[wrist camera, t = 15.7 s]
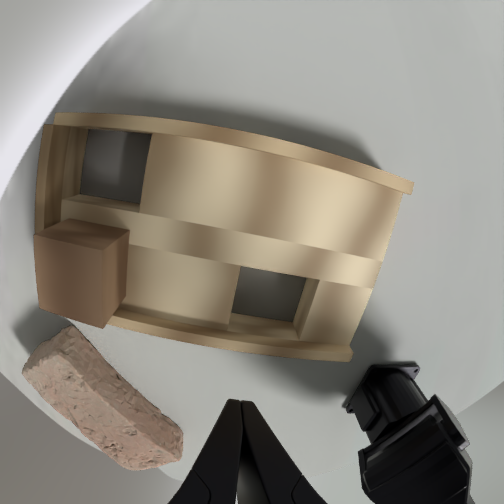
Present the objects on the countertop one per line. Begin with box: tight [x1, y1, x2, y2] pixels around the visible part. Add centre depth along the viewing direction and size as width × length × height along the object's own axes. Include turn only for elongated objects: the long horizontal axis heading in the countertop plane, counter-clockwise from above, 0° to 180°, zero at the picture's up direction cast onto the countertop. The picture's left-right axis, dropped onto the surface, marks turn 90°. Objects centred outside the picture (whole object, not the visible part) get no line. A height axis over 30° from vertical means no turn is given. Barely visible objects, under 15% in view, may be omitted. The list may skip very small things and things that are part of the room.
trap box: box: [35, 112, 414, 362], centre depth 17 cm, size 22×13×4 cm, turn 78°
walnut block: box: [34, 218, 130, 329], centre depth 15 cm, size 4×4×4 cm
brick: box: [22, 325, 183, 470], centre depth 22 cm, size 17×8×5 cm, turn 31°
